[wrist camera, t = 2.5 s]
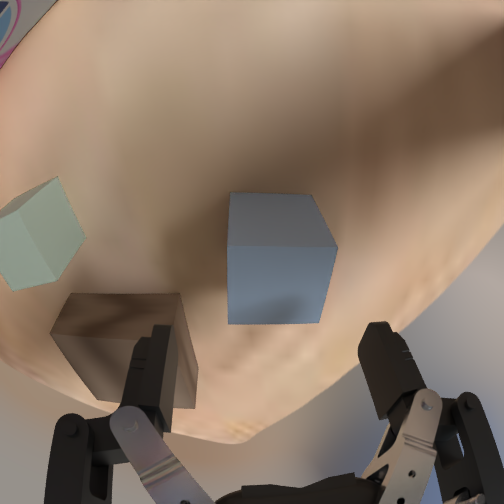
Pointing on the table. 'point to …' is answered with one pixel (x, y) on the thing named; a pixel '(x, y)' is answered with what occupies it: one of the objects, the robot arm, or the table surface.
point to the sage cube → (38, 236)
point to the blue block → (277, 259)
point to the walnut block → (122, 340)
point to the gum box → (18, 22)
